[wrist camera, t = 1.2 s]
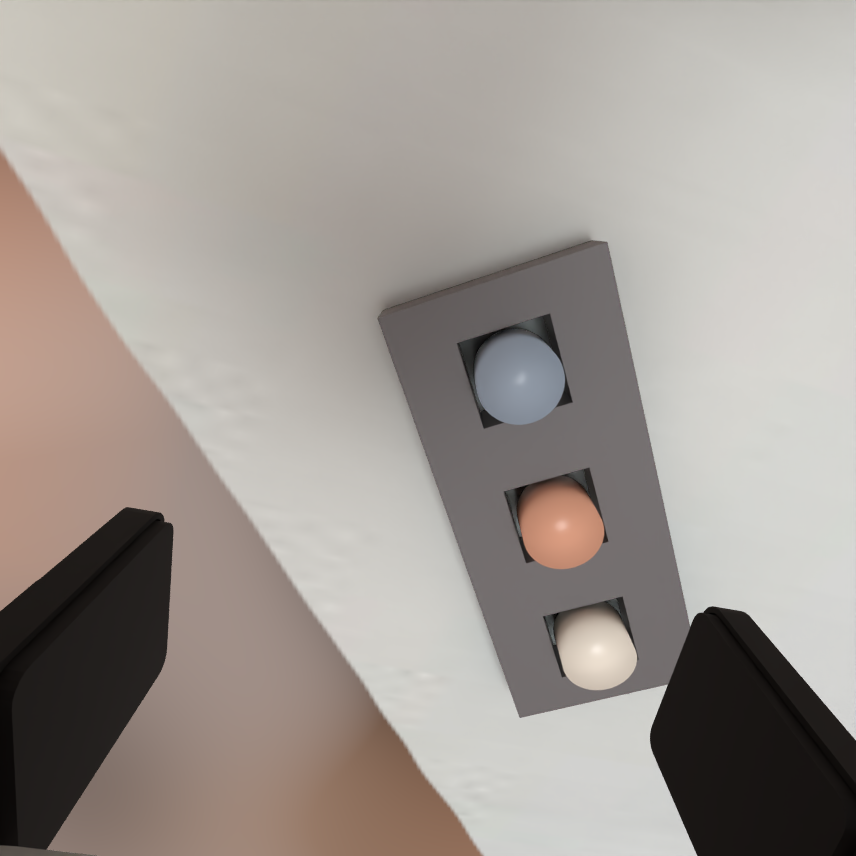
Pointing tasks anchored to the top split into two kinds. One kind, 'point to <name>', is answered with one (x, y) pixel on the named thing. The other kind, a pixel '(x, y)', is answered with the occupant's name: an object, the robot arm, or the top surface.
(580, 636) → the cream button
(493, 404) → the slate blue button
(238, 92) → the top surface
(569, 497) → the terracotta button
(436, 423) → the button panel
